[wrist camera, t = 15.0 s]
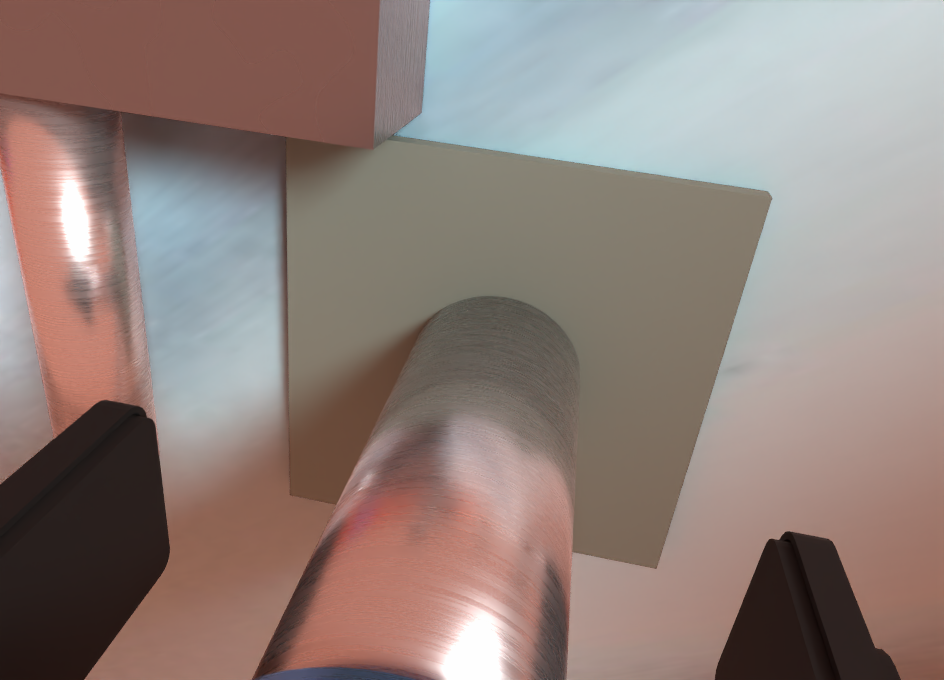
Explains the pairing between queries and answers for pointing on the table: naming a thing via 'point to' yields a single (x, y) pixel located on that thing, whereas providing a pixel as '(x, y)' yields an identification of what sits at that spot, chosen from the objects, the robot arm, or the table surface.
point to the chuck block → (173, 97)
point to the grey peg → (451, 516)
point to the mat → (522, 278)
